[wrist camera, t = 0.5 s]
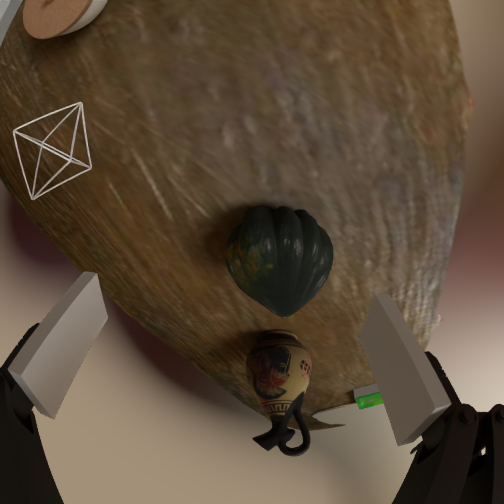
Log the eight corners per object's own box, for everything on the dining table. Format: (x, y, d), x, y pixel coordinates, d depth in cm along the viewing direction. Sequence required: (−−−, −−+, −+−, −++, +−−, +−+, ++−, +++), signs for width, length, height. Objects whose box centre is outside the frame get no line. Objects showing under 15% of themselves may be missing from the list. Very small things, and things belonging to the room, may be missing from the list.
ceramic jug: (250, 354, 72) (248, 459, 50) (242, 325, 62) (238, 454, 40) (312, 349, 71) (321, 455, 49) (316, 319, 60) (331, 449, 38)
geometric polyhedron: (56, 89, 26) (15, 109, 19) (111, 115, 30) (76, 140, 23) (40, 156, 33) (7, 185, 26) (87, 183, 37) (58, 216, 30)
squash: (278, 177, 31) (233, 302, 29) (363, 230, 37) (332, 334, 34) (234, 198, 44) (200, 286, 42) (306, 235, 50) (279, 314, 47)
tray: (405, 386, 107) (407, 395, 103) (358, 400, 114) (359, 409, 111) (409, 371, 92) (411, 382, 88) (353, 388, 99) (354, 399, 96)
